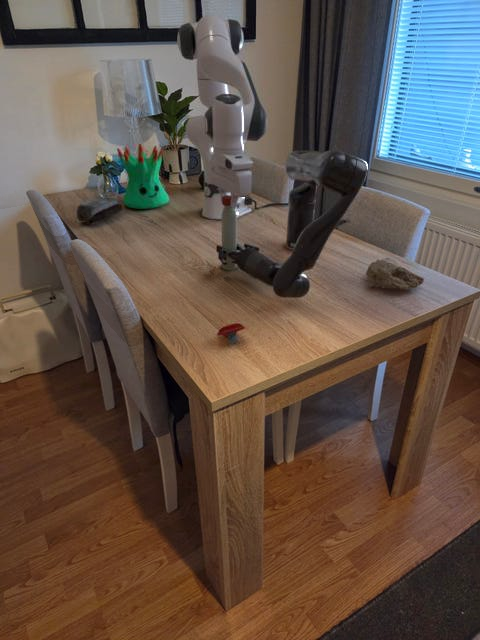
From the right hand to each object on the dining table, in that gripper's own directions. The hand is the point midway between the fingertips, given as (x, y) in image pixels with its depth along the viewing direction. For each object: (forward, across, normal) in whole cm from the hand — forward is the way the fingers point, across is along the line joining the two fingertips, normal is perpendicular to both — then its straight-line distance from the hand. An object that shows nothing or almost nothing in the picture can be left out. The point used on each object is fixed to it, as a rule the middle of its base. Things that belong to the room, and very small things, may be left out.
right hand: (224, 246), depth 145 cm
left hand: (-3, 0, -14) cm, 15 cm away
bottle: (-3, 0, +6) cm, 7 cm away
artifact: (-40, -34, +6) cm, 53 cm away
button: (-39, +24, +6) cm, 46 cm away
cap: (-3, 0, -16) cm, 17 cm away
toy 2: (+80, -45, +6) cm, 92 cm away
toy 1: (+75, -6, +6) cm, 76 cm away
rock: (+66, +18, +6) cm, 68 cm away
